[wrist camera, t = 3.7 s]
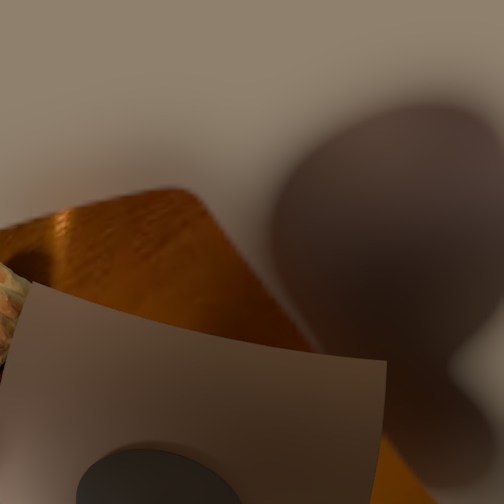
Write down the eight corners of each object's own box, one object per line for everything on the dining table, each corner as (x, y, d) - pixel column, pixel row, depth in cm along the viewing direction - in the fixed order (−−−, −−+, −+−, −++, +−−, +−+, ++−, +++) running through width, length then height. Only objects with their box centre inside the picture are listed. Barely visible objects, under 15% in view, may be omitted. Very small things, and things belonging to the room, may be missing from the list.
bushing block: (242, 494, 11) (322, 635, 1) (131, 470, 11) (-6, 555, 1) (260, 396, 14) (392, 358, 4) (151, 372, 14) (29, 277, 4)
